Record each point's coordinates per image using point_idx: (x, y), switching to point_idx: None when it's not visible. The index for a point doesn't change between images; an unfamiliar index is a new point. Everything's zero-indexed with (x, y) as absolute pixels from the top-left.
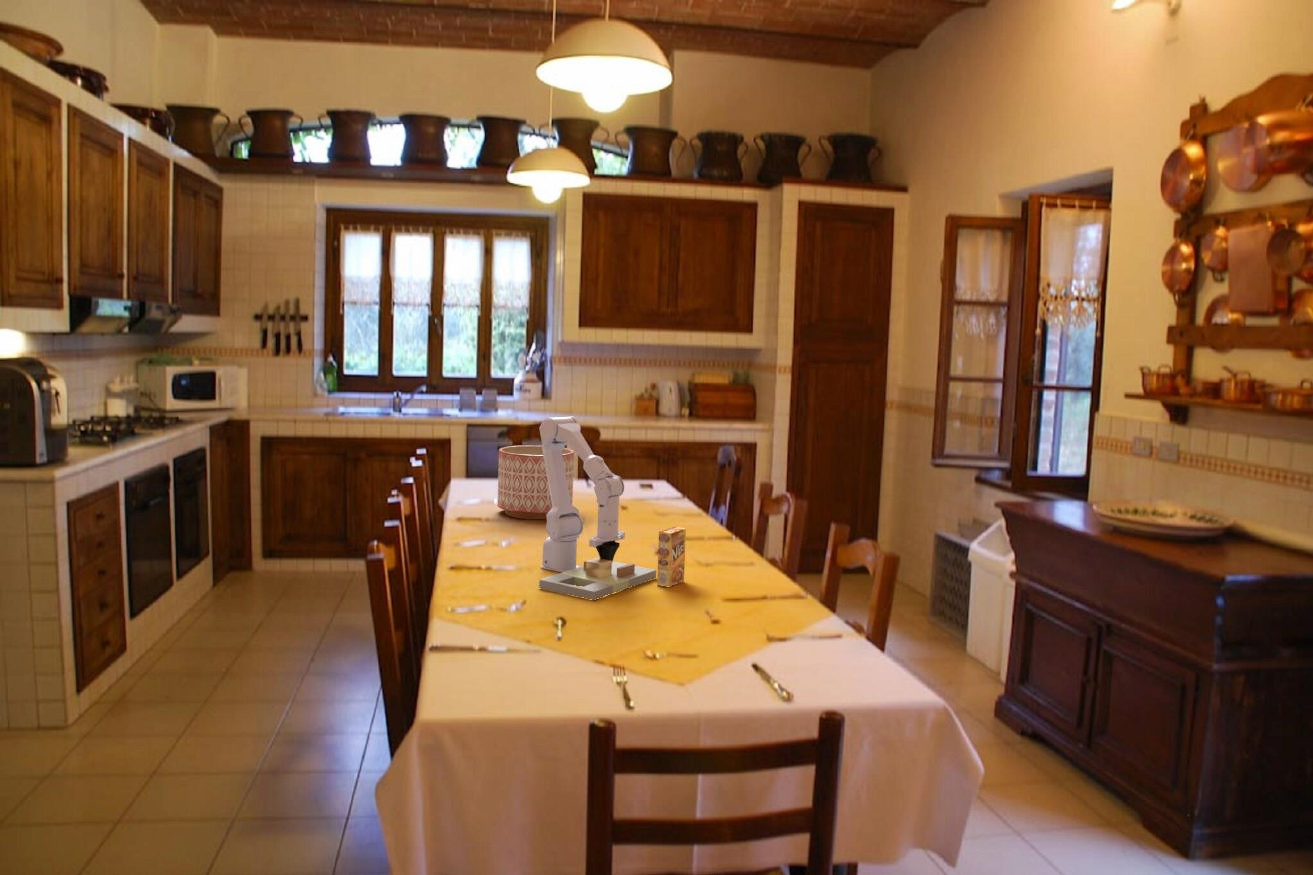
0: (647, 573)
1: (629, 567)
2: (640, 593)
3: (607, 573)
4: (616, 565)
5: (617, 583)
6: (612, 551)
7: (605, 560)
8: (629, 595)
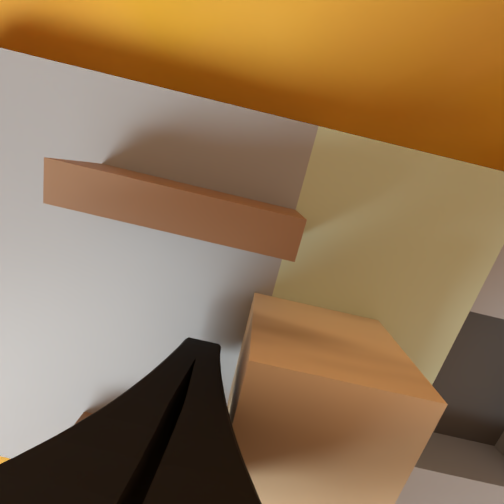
0: (38, 58)
1: (151, 181)
2: (392, 5)
3: (306, 313)
4: (7, 345)
5: (473, 165)
6: (165, 475)
7: (267, 417)
8: (469, 63)
